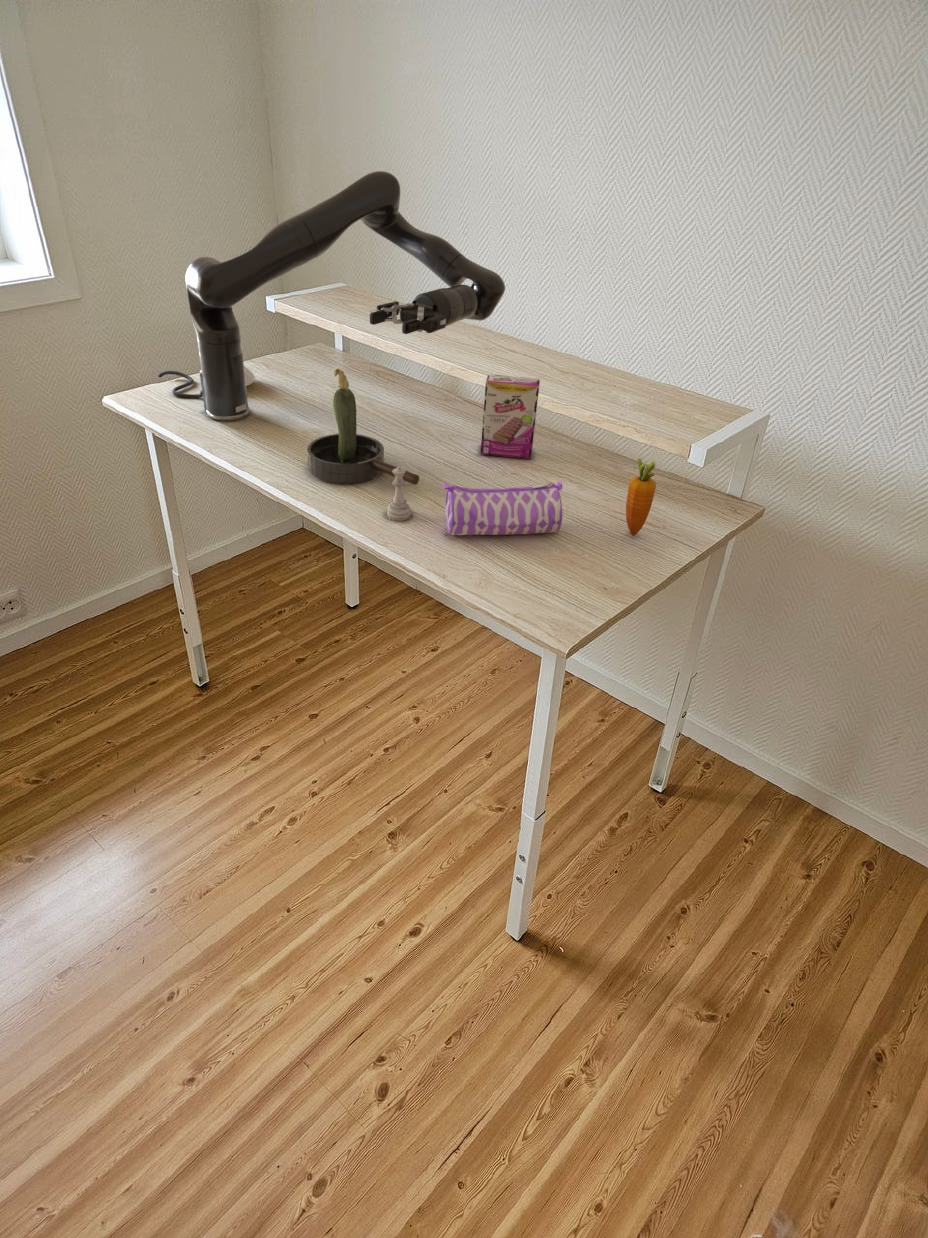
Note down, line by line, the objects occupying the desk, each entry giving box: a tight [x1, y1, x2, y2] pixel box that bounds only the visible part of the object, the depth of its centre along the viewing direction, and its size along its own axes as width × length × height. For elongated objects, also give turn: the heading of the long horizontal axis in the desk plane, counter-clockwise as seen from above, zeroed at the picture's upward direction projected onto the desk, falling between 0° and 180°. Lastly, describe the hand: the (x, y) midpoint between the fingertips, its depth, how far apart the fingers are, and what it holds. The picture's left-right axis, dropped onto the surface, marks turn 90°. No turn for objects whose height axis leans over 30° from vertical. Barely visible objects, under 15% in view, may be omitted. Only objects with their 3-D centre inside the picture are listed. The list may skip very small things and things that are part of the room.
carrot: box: [625, 457, 657, 536], centre depth 148 cm, size 5×5×15 cm
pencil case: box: [442, 480, 563, 536], centre depth 149 cm, size 22×9×10 cm, turn 102°
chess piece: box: [386, 465, 412, 522], centre depth 152 cm, size 4×4×10 cm
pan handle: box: [371, 459, 420, 486], centre depth 162 cm, size 11×2×2 cm, turn 53°
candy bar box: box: [480, 373, 541, 460], centre depth 175 cm, size 11×5×16 cm, turn 84°
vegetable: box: [332, 368, 358, 464], centre depth 164 cm, size 4×4×20 cm
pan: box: [306, 433, 385, 485], centre depth 169 cm, size 15×15×4 cm
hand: (387, 323), depth 163 cm, fingers open, 8 cm apart
